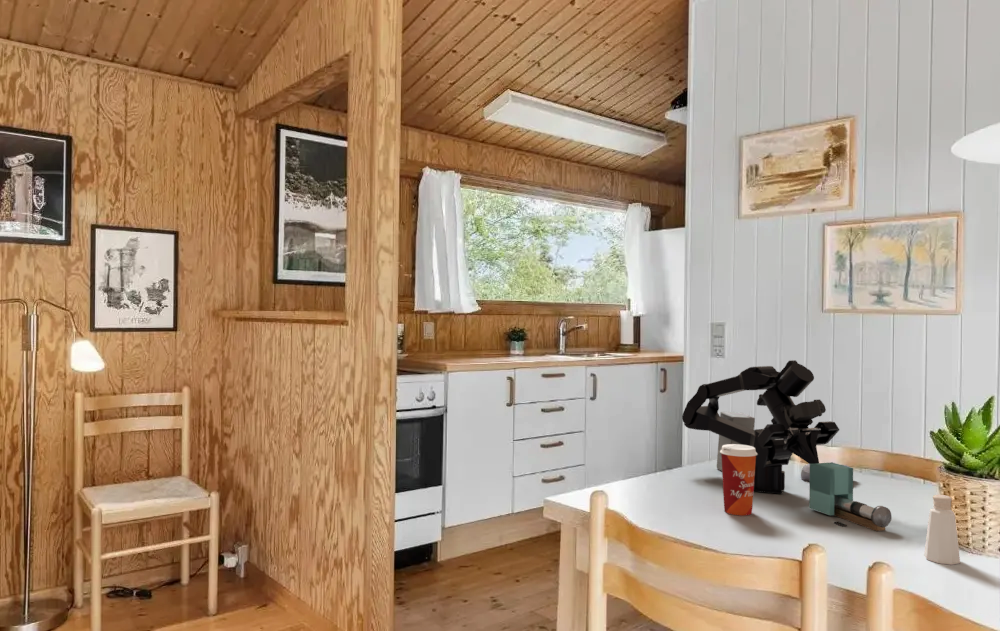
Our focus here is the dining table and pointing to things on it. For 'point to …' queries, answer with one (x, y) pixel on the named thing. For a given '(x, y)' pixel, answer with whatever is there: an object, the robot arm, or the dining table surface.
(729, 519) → the dining table surface
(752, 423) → the skincare box
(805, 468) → the stone block
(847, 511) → the pipe rig
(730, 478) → the paper cup
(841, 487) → the teal notched block
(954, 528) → the pepper shaker
